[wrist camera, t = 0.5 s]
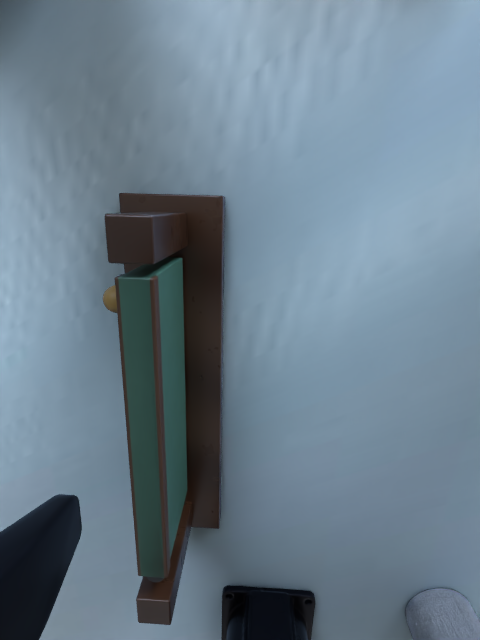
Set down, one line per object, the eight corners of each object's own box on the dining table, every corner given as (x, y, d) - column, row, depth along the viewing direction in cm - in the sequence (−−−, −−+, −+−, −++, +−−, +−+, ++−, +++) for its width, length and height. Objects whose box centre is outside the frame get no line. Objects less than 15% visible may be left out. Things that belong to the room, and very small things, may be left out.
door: (189, 500, 22) (168, 590, 17) (140, 497, 22) (105, 585, 17) (184, 257, 18) (153, 278, 12) (123, 255, 18) (68, 275, 12)
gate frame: (220, 516, 24) (206, 635, 17) (146, 511, 24) (103, 627, 18) (224, 196, 18) (205, 190, 11) (125, 193, 18) (48, 185, 11)
